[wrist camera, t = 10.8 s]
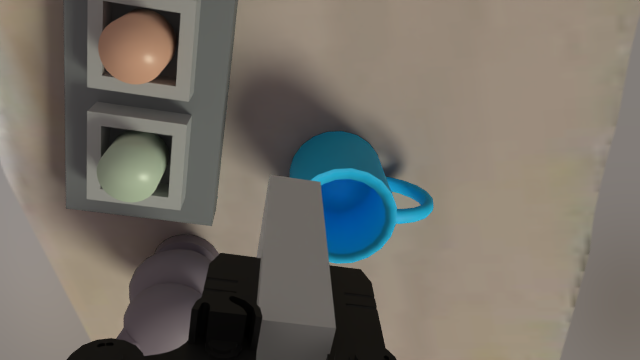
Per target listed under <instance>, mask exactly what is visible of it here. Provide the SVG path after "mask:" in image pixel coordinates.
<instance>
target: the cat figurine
mask: <svg viewBox="0 0 640 360" xmlns="http://www.w3.org/2000/svg"><path fill="white" fill-rule="evenodd" d="M218 255H219V253H218V252H217V251H216V249H215V248H214V246H213V245H211V244H210V243H209V242H207V241H206V240H205V239H202V238H199V237H197V236H194V235H178V236H173V237H171V238H169V239H167V240H165V241H163V242H162V243H161V244H160V245H159V246H158V247H157V249H156V251H155V254H154V255H153V256H150V257H148V258H147V259H146V260H145V261H144V262H143V263H142V264H140V265H139V266H138V267H137V269H136V270H135V272H134V274H133V276H132V279H131V281H130V284H129V298H130V304H129V306H128V308H127V310H126V312H125V315H124V328H123V330H122V331H121V333H120V334H119V335H118V337H117V338H116V339H120V340H125V341H128V342H130V343H132V344H134V345H136V346H137V347H138V348H139V349H140V350H141V352H142V353H143V354H144V356H148V355H155V354H161V353H165V352H169V351H172V350H174V349H177V348H179V347H180V346H182V345H183V344H184V343H186V342H187V341H188V337H189V327H190V318H191V309H192V307H193V305H194V304H195V302H196V301H197V300H198V299H200V298H201V297H202V293H203V289H204V284H205V280H206V276H207V272H208V267H209V263H210V262H212V261H213V260H214V259H215V258H216V257H217V256H218Z"/></svg>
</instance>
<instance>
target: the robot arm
mask: <svg viewBox="0 0 640 360" xmlns="http://www.w3.org/2000/svg"><path fill="white" fill-rule="evenodd" d="M376 308H377V307H376V302H375V299H374V293H373V288H372V283H371V281H370V280H369V279H368V278H367V276H366V275H365V274H364V273H363V272H362V270H361V269H353V268H346V267H338V266H330V265H329V258H328V248H327V239H326V229H325V220H324V210H323V201H322V191H321V182H317V181H311V180H304V179H297V178H290V177H283V176H276V175H270V176H269V182H268V188H267V195H266V201H265V208H264V214H263V220H262V227H261V233H260V239H259V246H258V252H257V258H256V257H248V256H241V255H233V254H225V253H220V254H219V255H218V256H217V257H216V258H215V259H214V260H213V261H212V262H210V263H209V267H208V272H207V276H206V280H205V284H204V289H203V293H202V297H201V298H200V299H198V300H197V301H196V302H195V304H194V305H193V307H192V309H191V318H190V327H189V337H188V341H187V342H186V343H184V344H183V345H182V346H180V347H179V348H177V349H174V350H172V351H169V352H165V353H161V354H155V355H148V356H144V354H143V353H142V352H141V350H140V349H139V348H138V347H137V346H136V345H134V344H132V343H130V342H128V341H125V340H120V339H112V338H109V339H101V340H95V341H93V342H90V343H88V344H85V345H82V346H81V347H80V348H79V349H77V350H76V351H75V352H73V353H72V354H71V355H70V356H69V358H68V359H67V360H396V358H395V356H393V355H392V354H391V353H390V352H389V351H388V350H387V349H386V348H385V344H384V339H383V335H382V330H381V325H380V321H379V316H378V311H377V310H376Z"/></svg>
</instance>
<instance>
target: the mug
mask: <svg viewBox="0 0 640 360" xmlns="http://www.w3.org/2000/svg"><path fill="white" fill-rule="evenodd" d="M290 178H297V179H304V180H311V181H317V182H321V191H322V201H323V210H324V220H325V229H326V239H327V248H328V258H329V262H332V263H353V262H356V261H359V260H362V259H365V258H368V257H369V256H371V255H372V254H374V253H375V252H377V251H378V250H380V249H381V248H382V247H383V246H384V244H385V243H386V242H387V241H388V240H389V238H390V237H391V235H392V232H393V230H394V227H395V225H396V224H402V223H411V222H416V221H419V220H422V219H424V218H426V217H427V216H428V215H429V214H430V213H431V212H432V210H433V199H432V197H431V196H430V195H429V194H428V193H427V192H426V191H425V190H423V189H422V188H420V187H418V186H416V185H414V184H411V183H409V182H406V181H403V180H399V179H395V178H391V177H386V176H385V174H384V171H383V168H382V166H381V163H380V160H379V158H378V155H377V153H376V152H375V150H374V149H373V148H372V147H371V145H370V144H369V143H368V142H367V141H365V140H364V139H362V138H361V137H359V136H357V135H355V134H351V133H347V132H344V131H334V132H325V133H322V134H320V135H317V136H314V137H312V138H311V139H310V140H308V141H307V142H306V143H304V144H303V145H302V146H301V147H300V149H299V150H298V151H297V153H296V154H295V156H294V157H293V160H292V164H291V167H290ZM391 191H392V192H396V193H400V194H402V195H405V196H408V197H410V198H412V199H414V200H415V201H417V202H419V203H420V204H421V206H418V207H415V208H408V209H397V207H396V204H395V201H394V198H393V195H392V192H391Z"/></svg>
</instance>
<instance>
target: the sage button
mask: <svg viewBox="0 0 640 360" xmlns="http://www.w3.org/2000/svg"><path fill="white" fill-rule="evenodd" d="M168 162H169V151H168V148H167V146H166V144H165V142H164V141H163V140H162V139H161V138H160V137H159V136H158V135H157V134H155V133H149V132H142V131H135V130H126V131H124V132H123V133H121V134H120V135H119V136H118V137H117V138H116V139H115V141H114V142H113V143H112V144H111V146H110V147H109V148H108V149H107V151H106V152H105V153H104V155H103V156H102V157H101V159H100V160H99V162H98V165H97V178H98V181H99V183H100V185H101V187H102V188H103V190H104V191H105V192H106V193H107V194H109V195H110V196H111V197H113V198H115V199H117V200H120V201H123V202H139V201H142V200H145V199H146V198H148V197H149V196H151V195H152V194H153V193H154V191H155V190H156V188H157V186H158V184H159V182H160V180H161V178H162V176H163V174H164V172H165V170H166V168H167V165H168Z"/></svg>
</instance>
